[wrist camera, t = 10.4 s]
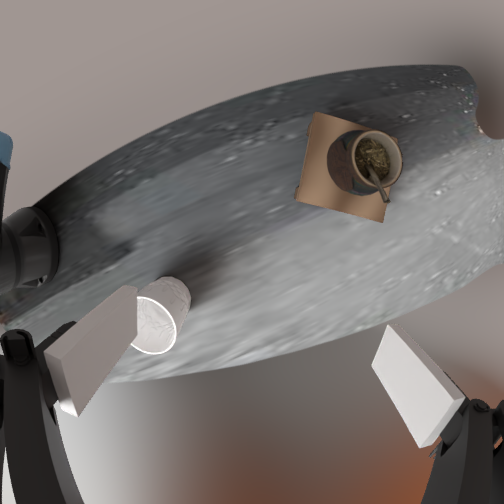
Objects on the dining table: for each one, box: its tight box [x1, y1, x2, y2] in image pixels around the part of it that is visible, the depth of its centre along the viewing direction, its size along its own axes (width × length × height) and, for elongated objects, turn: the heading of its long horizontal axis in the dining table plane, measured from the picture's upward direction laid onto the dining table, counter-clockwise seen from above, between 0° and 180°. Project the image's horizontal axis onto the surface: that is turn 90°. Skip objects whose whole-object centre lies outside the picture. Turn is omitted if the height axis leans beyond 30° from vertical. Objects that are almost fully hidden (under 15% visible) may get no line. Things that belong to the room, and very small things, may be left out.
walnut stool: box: [294, 112, 398, 223], centre depth 32 cm, size 11×11×6 cm
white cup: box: [131, 277, 191, 354], centre depth 35 cm, size 8×8×10 cm
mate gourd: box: [327, 129, 403, 203], centre depth 24 cm, size 7×8×10 cm
